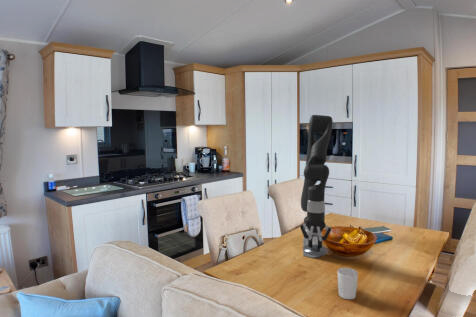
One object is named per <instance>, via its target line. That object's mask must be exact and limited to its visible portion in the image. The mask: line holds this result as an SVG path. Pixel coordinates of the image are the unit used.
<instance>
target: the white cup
mask: <svg viewBox="0 0 476 317" xmlns="http://www.w3.org/2000/svg"><path fill="white" fill-rule="evenodd" d="M336 272H337V288H338V292H337V293H338V296H339V297H341V298H342V299H344V300H354V299H356V296H357V288H358V275H359V272H358V271H357V270H356V269H353V268H351V267H340V268H338V269H337V271H336Z"/></svg>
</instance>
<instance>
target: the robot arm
mask: <svg viewBox="0 0 476 317" xmlns="http://www.w3.org/2000/svg"><path fill="white" fill-rule="evenodd" d="M333 122H334V121H333V118H332V116H329V115H320V114H311V115H310V119H309V122H308V138H307V141H308V143H307V152H306V160H305V166H304V169H303V177H304V180H303V187H302V191H301V198H300V207H301V210H302V211H303V212H305V213H306V216H305V217H304V218H303V223H301V224H300V226H299V228H300V230H301V233H302V236H303V238H302V239H303V240H302V243H303V244H302V248H303V247H304V246H306V245H308V246H309V247H310V248H312V234H317V235H318V236H319V249H320V248H322V246H323V241H327V238H329V236H330V233H331V231H332V226H328V225H327V224H326V221H325V218H326V216H325V215H326V213H325V212H326V205H325V191H326V186H327V181H328V178H329V176H330V169H329V167H328V166H327V164H326V162H327V153H328V152H327V151H328V146H329V142H330V139H331V135H332V132H333V131H332V130H333V124H334V123H333ZM317 134H318V135H322V136H321V137H320V138H319V139H318V140H316V135H317ZM318 182H319V183H318ZM317 183H318V184H317ZM324 229H325V234H324V235H323V233H322V232H323V230H324ZM302 254H303V255H302V256H303V257H308V258H312V259H313V258H315V259H316V258H320V257H321V256H315V255H309V254H307V253H305V252H304V251H303V250H302Z"/></svg>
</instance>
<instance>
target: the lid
mask: <svg viewBox="0 0 476 317" xmlns="http://www.w3.org/2000/svg"><path fill="white" fill-rule="evenodd" d="M303 251H304V252H305V253H307V254H309V255H315V256H320V257H322V256H325V255H327V254H328V248H327V247H325V246H323V245H322V248H320V249H319V236H318V235H317V234H312V248H310V247H309V246H308V245H306V246H304V247H303V246H302V252H303Z"/></svg>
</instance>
